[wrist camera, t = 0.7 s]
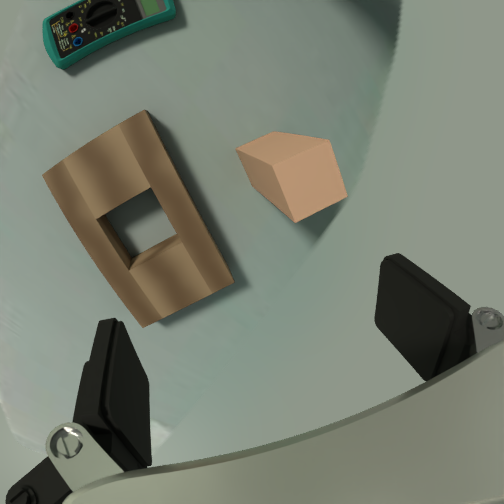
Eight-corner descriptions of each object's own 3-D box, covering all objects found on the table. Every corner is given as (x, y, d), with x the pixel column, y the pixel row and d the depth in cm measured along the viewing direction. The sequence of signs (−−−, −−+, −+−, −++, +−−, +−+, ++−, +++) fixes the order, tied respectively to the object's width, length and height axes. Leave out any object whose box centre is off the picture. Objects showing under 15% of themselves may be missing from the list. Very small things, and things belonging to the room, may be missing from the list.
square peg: (274, 131, 35) (329, 140, 23) (289, 168, 37) (347, 196, 25) (235, 148, 35) (271, 165, 22) (252, 186, 37) (295, 223, 25)
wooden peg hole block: (147, 110, 31) (144, 109, 28) (229, 269, 41) (234, 282, 38) (52, 169, 30) (41, 175, 27) (144, 312, 40) (142, 328, 37)
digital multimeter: (44, 27, 23) (35, 21, 20) (159, -27, 24) (159, -37, 21) (59, 74, 26) (50, 71, 24) (178, 18, 27) (179, 10, 25)
